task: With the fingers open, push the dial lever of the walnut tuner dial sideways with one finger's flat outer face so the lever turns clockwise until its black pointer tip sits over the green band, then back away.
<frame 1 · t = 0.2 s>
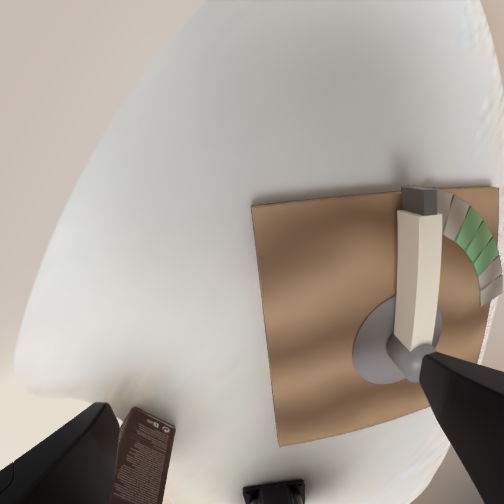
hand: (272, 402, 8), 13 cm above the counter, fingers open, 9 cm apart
dial board: (393, 322, 23), on the counter
dial lever: (419, 289, 19), point 3 cm above the counter, hinge at 0.0°
box: (140, 431, 24), on the counter
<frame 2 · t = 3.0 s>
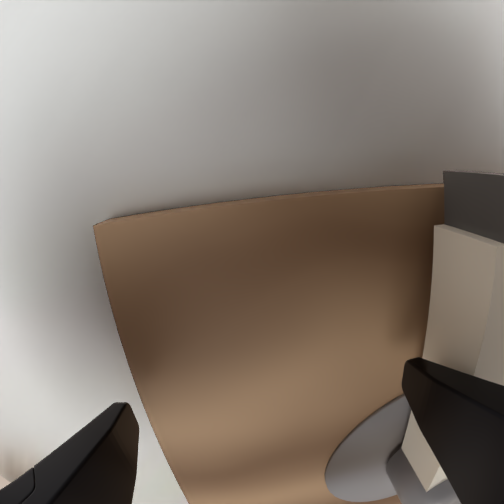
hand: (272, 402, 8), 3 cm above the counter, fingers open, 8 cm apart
dial board: (403, 418, 12), on the counter
dial lever: (464, 391, 8), point 3 cm above the counter, hinge at 0.0°, touching gripper
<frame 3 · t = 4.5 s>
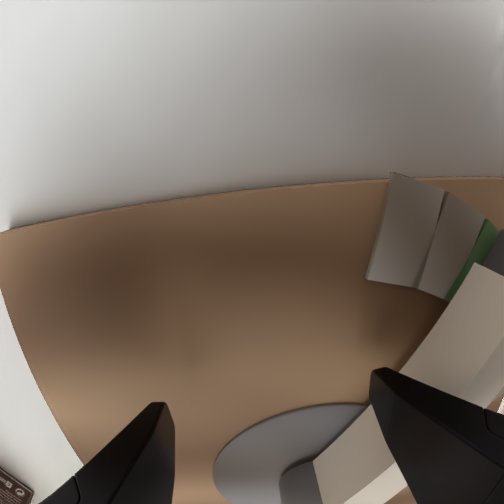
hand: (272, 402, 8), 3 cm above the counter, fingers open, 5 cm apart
dial board: (306, 437, 12), on the counter
dial lever: (420, 425, 8), point 3 cm above the counter, hinge at -37.5°, touching gripper
box: (8, 483, 14), on the counter
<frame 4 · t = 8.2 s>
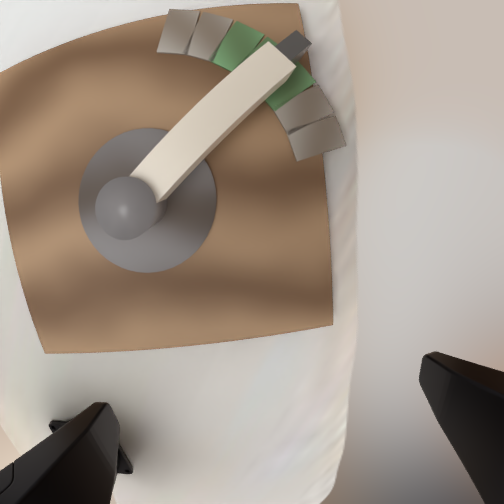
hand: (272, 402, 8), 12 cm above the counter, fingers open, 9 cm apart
dial board: (146, 182, 18), on the counter
dial lever: (205, 127, 14), point 3 cm above the counter, hinge at -51.5°
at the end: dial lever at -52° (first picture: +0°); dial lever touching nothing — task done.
